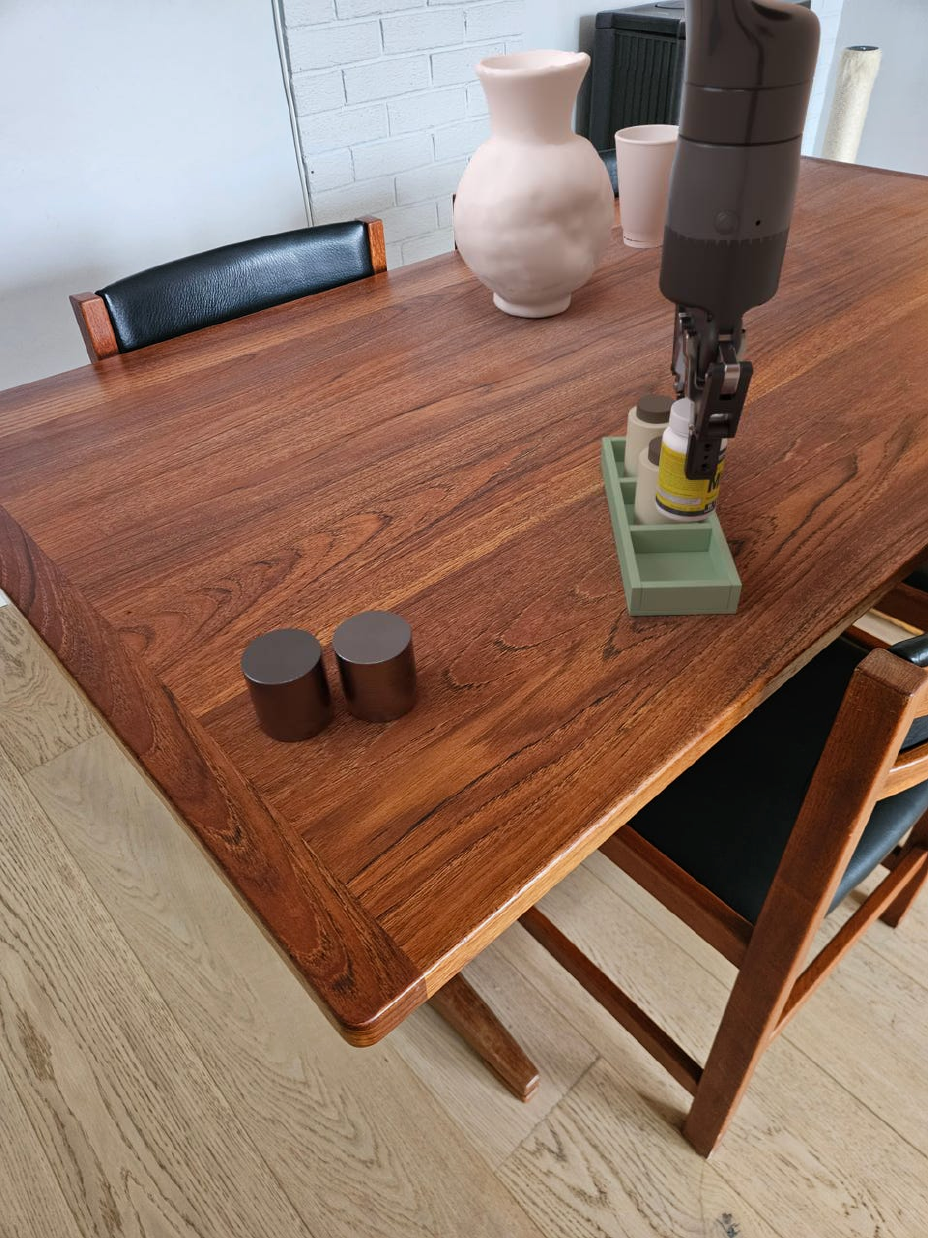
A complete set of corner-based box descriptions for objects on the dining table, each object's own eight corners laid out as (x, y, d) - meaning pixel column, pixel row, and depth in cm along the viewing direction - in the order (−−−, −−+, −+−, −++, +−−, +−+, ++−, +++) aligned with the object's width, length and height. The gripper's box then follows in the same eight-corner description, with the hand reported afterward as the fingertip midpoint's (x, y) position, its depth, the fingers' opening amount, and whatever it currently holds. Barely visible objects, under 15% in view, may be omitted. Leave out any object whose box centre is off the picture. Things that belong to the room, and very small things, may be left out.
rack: (684, 460, 85) (688, 433, 83) (736, 613, 67) (742, 585, 65) (600, 462, 85) (601, 436, 83) (629, 616, 67) (632, 587, 65)
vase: (433, 310, 119) (413, 63, 99) (538, 271, 129) (539, 39, 109) (522, 346, 108) (521, 76, 88) (630, 300, 118) (650, 48, 98)
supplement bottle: (712, 527, 62) (730, 427, 57) (650, 519, 64) (661, 420, 58) (718, 494, 66) (735, 396, 60) (658, 486, 67) (670, 390, 62)
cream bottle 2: (693, 515, 76) (706, 436, 71) (681, 545, 73) (693, 464, 68) (641, 505, 78) (649, 427, 73) (626, 534, 75) (633, 454, 69)
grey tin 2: (431, 679, 63) (424, 620, 59) (397, 731, 59) (387, 672, 55) (367, 661, 65) (357, 602, 61) (330, 710, 61) (316, 651, 57)
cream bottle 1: (679, 471, 82) (690, 394, 77) (667, 497, 79) (677, 419, 73) (630, 462, 84) (637, 387, 78) (616, 487, 81) (622, 411, 75)
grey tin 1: (348, 697, 62) (336, 639, 58) (308, 751, 58) (292, 692, 54) (286, 678, 64) (270, 620, 60) (243, 729, 60) (223, 671, 56)
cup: (684, 252, 132) (697, 139, 122) (609, 253, 134) (615, 142, 123) (677, 229, 141) (689, 122, 131) (607, 231, 142) (613, 125, 132)
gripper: (824, 249, 45) (766, 510, 56) (761, 182, 56) (723, 412, 67) (686, 256, 46) (656, 513, 57) (649, 188, 56) (630, 415, 68)
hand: (692, 457), depth 62 cm, fingers closed on supplement bottle, 4 cm apart
